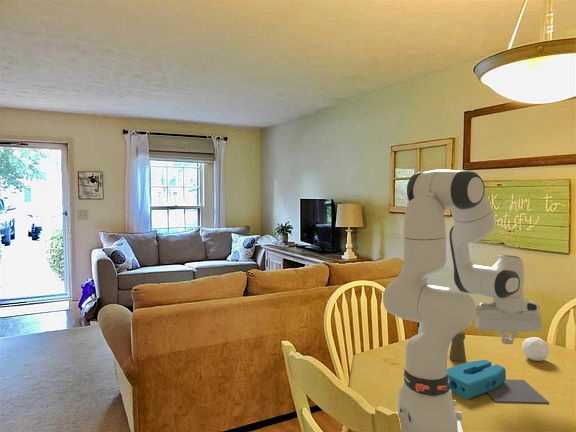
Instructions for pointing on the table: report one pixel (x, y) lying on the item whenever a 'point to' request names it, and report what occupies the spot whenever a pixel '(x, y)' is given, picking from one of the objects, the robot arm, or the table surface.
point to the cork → (458, 348)
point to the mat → (516, 393)
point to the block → (475, 378)
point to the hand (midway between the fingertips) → (507, 343)
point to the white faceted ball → (535, 348)
